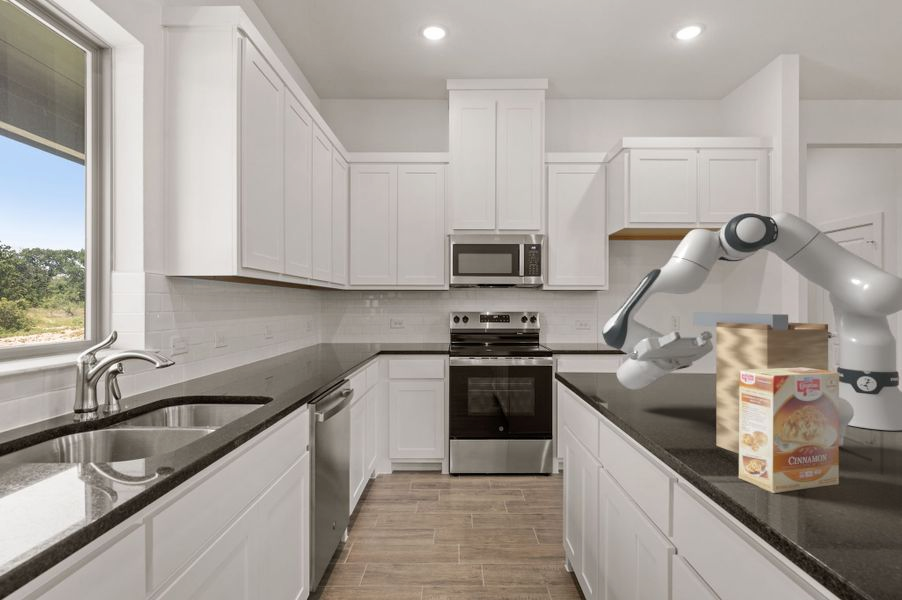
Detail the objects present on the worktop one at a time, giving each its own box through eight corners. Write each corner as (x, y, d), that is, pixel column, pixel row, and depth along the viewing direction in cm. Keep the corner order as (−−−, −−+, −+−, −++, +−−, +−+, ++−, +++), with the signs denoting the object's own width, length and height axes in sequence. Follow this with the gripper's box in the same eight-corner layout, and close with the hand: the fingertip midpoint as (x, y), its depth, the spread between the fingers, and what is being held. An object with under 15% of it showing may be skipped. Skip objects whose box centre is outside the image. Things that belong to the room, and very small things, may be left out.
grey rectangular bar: (693, 325, 109) (693, 312, 109) (706, 325, 110) (706, 312, 110) (772, 330, 90) (772, 314, 90) (788, 329, 91) (788, 314, 91)
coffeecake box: (774, 494, 75) (774, 374, 76) (736, 478, 82) (736, 368, 82) (841, 485, 79) (841, 371, 80) (800, 470, 86) (800, 366, 86)
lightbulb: (821, 448, 99) (821, 397, 99) (814, 441, 105) (814, 392, 105) (857, 453, 96) (857, 400, 96) (849, 445, 102) (849, 395, 102)
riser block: (716, 445, 101) (716, 322, 101) (772, 440, 105) (772, 321, 106) (767, 464, 90) (767, 324, 90) (828, 456, 94) (828, 324, 94)
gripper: (621, 347, 122) (652, 323, 111) (685, 345, 128) (721, 322, 116) (629, 370, 119) (662, 347, 108) (694, 366, 125) (732, 345, 113)
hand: (693, 334), depth 112 cm, fingers open, 8 cm apart
